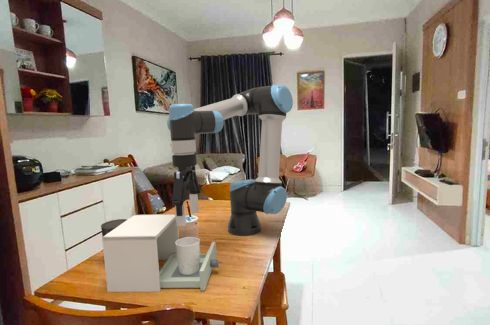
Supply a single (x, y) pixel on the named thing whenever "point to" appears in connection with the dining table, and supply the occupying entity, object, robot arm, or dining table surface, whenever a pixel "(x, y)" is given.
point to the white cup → (188, 255)
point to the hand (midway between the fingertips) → (188, 218)
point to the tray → (174, 279)
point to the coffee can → (111, 226)
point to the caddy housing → (139, 252)
